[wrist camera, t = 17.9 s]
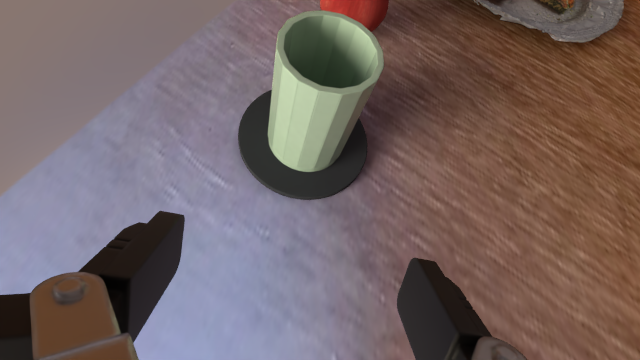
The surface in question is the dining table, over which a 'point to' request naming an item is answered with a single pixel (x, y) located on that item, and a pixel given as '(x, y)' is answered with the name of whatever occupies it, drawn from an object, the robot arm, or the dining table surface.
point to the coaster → (286, 178)
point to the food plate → (561, 16)
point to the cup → (320, 87)
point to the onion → (359, 10)
